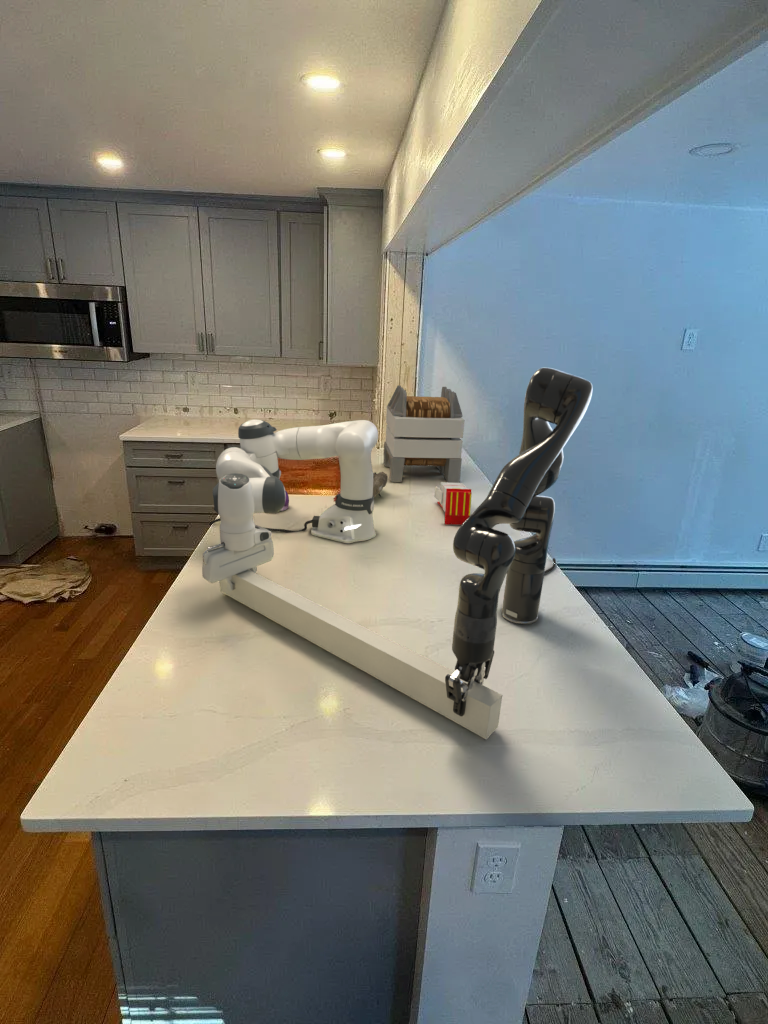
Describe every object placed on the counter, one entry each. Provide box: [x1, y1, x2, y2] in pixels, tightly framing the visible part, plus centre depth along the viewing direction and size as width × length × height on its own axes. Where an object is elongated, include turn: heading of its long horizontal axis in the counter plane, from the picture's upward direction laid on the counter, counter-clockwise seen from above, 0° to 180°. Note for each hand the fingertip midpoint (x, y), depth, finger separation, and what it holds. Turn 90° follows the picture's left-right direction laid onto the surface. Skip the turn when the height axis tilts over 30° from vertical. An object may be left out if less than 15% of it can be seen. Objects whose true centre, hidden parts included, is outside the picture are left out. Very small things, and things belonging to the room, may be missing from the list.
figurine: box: [279, 469, 290, 512], centre depth 216 cm, size 9×10×15 cm
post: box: [219, 570, 503, 740], centre depth 129 cm, size 82×4×7 cm, turn 50°
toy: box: [434, 481, 472, 526], centre depth 221 cm, size 12×13×30 cm
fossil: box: [373, 471, 389, 498], centre depth 236 cm, size 22×10×15 cm
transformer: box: [383, 384, 465, 483], centre depth 268 cm, size 34×33×41 cm
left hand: (240, 585), depth 150 cm, fingers closed on post, 4 cm apart
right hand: (466, 706), depth 109 cm, fingers closed on post, 4 cm apart
